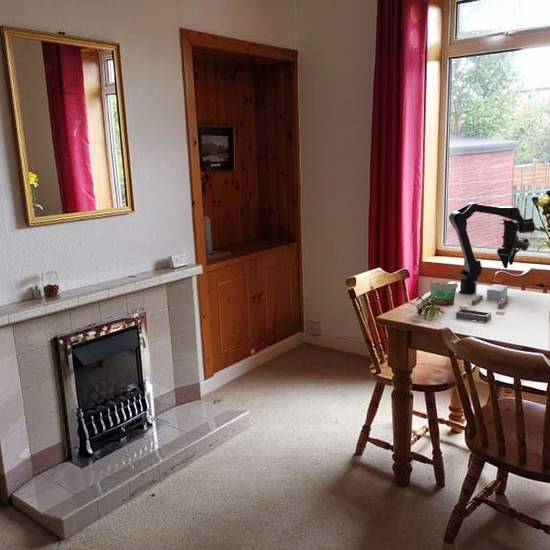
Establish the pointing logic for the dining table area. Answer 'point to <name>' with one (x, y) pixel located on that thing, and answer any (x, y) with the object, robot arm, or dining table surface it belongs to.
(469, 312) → the tray
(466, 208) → the robot arm
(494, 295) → the block
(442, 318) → the dining table surface
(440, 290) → the food container
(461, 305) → the tiles
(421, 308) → the green spiky leafy piece
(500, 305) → the lane
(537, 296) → the dining table surface
